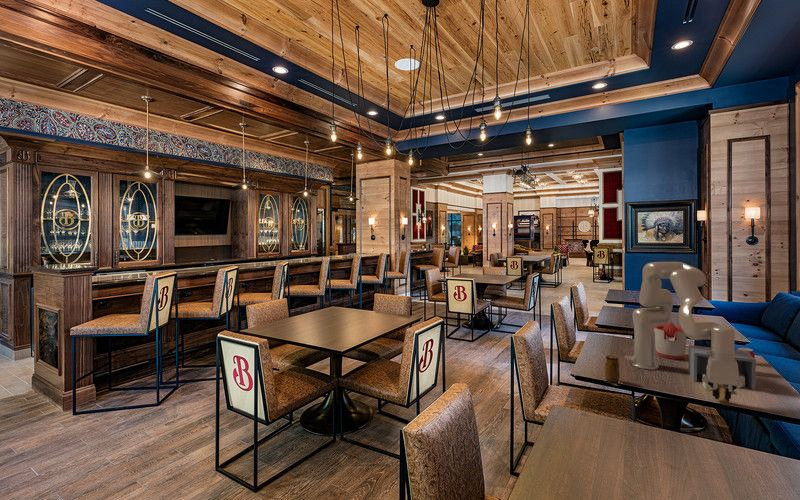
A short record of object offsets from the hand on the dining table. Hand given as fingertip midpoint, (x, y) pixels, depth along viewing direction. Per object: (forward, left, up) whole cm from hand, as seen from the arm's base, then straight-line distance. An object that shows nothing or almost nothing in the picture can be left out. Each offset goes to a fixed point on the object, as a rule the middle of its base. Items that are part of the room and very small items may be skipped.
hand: (721, 398), depth 158 cm
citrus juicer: (-11, +61, -2) cm, 62 cm away
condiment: (-40, +5, -2) cm, 40 cm away
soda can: (+19, +49, -2) cm, 53 cm away
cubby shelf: (+5, +29, -2) cm, 30 cm away
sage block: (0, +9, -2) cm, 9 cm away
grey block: (+11, +28, -2) cm, 30 cm away
